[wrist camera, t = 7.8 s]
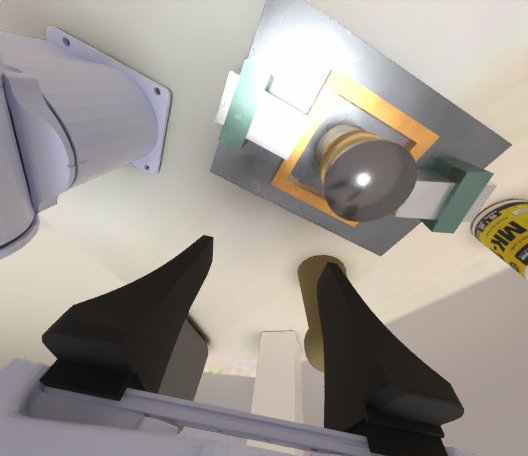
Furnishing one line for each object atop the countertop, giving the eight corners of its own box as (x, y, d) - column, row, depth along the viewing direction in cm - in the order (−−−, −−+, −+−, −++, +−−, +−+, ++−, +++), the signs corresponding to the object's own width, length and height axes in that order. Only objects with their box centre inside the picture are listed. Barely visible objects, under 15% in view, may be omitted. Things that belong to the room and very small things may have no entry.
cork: (342, 251, 24) (373, 349, 15) (348, 285, 27) (376, 383, 18) (292, 259, 25) (292, 352, 16) (303, 290, 28) (308, 383, 19)
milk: (300, 347, 37) (309, 588, 19) (269, 348, 39) (250, 572, 21) (294, 329, 34) (297, 596, 16) (260, 331, 36) (229, 577, 18)
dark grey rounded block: (121, 299, 35) (24, 417, 23) (175, 292, 32) (98, 424, 20) (170, 346, 44) (120, 452, 31) (217, 345, 41) (182, 461, 28)
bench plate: (213, 167, 20) (194, 184, 16) (274, -14, 13) (266, -59, 9) (379, 250, 23) (396, 281, 19) (501, 143, 16) (566, 159, 12)
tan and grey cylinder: (318, 185, 18) (330, 228, 13) (309, 132, 16) (318, 156, 10) (373, 172, 17) (413, 213, 11) (371, 113, 15) (421, 127, 9)
